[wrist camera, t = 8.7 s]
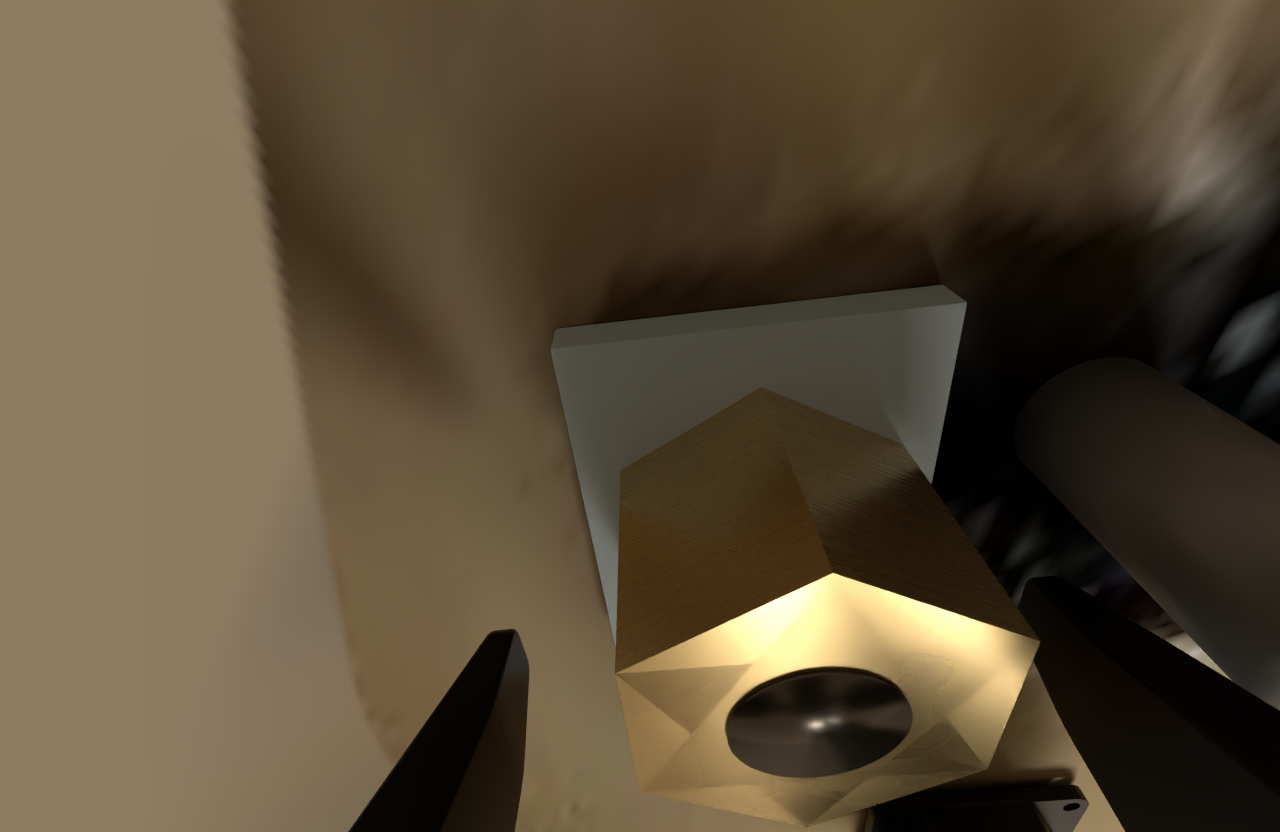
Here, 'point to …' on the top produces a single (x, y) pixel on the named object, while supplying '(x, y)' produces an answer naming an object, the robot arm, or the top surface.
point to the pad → (751, 381)
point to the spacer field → (1170, 502)
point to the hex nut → (804, 620)
